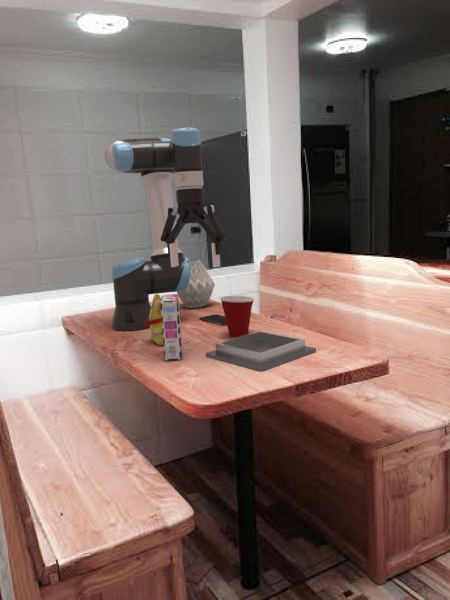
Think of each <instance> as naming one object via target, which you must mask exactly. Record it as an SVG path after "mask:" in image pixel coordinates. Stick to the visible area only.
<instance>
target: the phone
mask: <svg viewBox="0 0 450 600" xmlns="http://www.w3.org/2000/svg"><path fill="white" fill-rule="evenodd" d="M198 320H199V321H200V320H201V322H204V321H205V322H204V323H208V322H209V324H212V325H215V324H216V325H217V326H219V325H220V327H225V326H227V324H226V319H225V315H222V314H221V315H220V314H217V313H216V314H215V313H214V314H210V315H205V316H202V317H201V316H200V317H198Z"/></svg>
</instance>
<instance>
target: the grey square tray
mask: <svg viewBox="0 0 450 600" xmlns="http://www.w3.org/2000/svg"><path fill="white" fill-rule="evenodd" d="M316 351H317V349H316V347H313V346H307V345H306V339H303V338H298V337H293V336H289V335H285V334H284V335H283V334H279V333H278V334H277V333H274V332H273V333H272V332H270V331H269V332H268V331H263V330H257V331H253V332H251V333H248V334H246V335H243V336H240V337H232V338H230V339H226V340H223V341H220V342H217V343H215V350H211V351H207V352H206V353H205V357H206V358H210V359H214V360H217V361H221V362H224V363H228V364H231V365H235V366H239V367H242V368H246V369H249V370H254V371H257V372H264V371H267V370H270V369H273V368H275V367H278V366H281V365H283V364H287V363H288V362H292V361H294V360H297V359H300V358H303V357H305V356H308V355H310V354H311V355H312V354H313V353H316Z"/></svg>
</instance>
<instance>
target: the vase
mask: <svg viewBox="0 0 450 600" xmlns="http://www.w3.org/2000/svg"><path fill="white" fill-rule="evenodd" d="M189 264H190V279H189V284H188V287H187V288H186V289H185V290H182V291H176V292H175V293H176V294H178V298H179V301H181V302H182V303H183V304H184V307H185V308H187V309H198V308H199V307H201V308H203V307H202V306H205V305H206V306H207V305H208V302H209V301H210V299H211V297H212V293H213V292H214V288H215V286H216V284H215V282H214V280H213V278H212V277H211V276H210V274H209V271H208V269H207V268H206V266H204V264H203V262H202V261H201V259H189ZM206 306H205V307H206ZM197 307H198V308H197Z"/></svg>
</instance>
